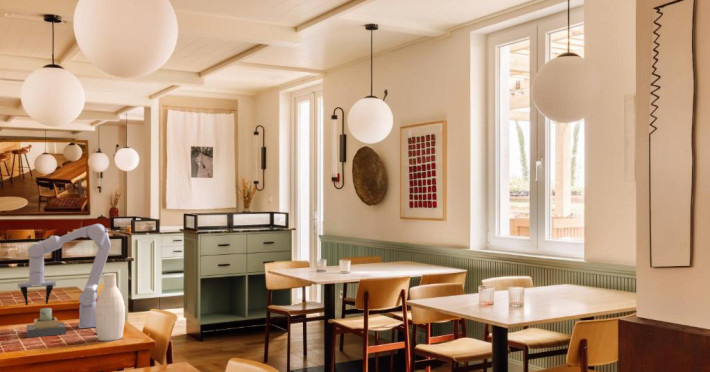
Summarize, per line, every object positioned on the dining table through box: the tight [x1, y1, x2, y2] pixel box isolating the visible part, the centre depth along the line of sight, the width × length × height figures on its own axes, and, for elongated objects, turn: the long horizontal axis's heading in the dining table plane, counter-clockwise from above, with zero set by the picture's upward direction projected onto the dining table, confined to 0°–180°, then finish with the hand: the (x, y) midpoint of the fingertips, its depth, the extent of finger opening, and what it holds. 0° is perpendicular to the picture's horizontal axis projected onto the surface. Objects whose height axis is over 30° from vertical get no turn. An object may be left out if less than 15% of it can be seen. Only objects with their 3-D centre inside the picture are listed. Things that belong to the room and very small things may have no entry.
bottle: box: [95, 272, 126, 342], centre depth 267 cm, size 11×11×25 cm
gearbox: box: [26, 316, 67, 338], centre depth 278 cm, size 14×12×6 cm
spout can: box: [39, 307, 53, 322], centre depth 278 cm, size 4×6×7 cm
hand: (36, 304), depth 288 cm, fingers open, 7 cm apart
